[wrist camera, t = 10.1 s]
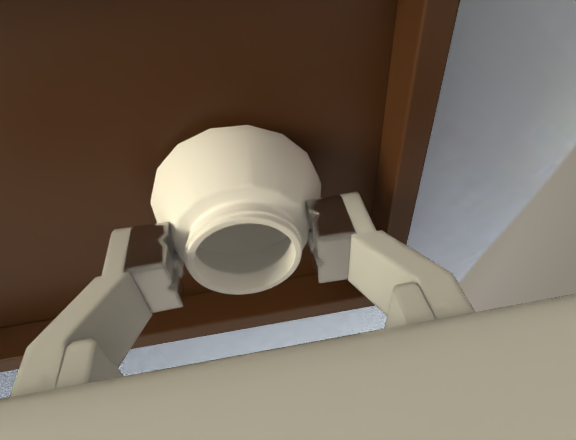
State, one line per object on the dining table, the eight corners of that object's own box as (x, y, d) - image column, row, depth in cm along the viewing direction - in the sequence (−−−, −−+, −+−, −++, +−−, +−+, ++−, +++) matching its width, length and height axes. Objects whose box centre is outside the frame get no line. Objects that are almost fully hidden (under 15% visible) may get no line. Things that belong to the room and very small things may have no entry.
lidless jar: (171, 96, 10) (143, 232, 13) (163, 164, 8) (132, 307, 11) (341, 142, 12) (282, 252, 15) (372, 207, 10) (296, 320, 13)
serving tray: (-714, -73, 6) (-995, -48, 5) (443, -177, 8) (502, -180, 6) (-93, 343, 16) (-124, 395, 14) (377, 263, 17) (394, 303, 16)
